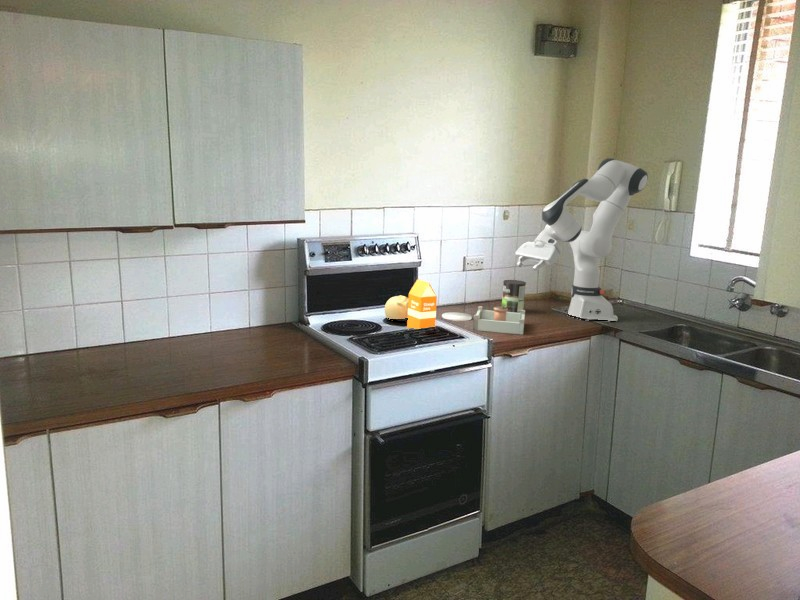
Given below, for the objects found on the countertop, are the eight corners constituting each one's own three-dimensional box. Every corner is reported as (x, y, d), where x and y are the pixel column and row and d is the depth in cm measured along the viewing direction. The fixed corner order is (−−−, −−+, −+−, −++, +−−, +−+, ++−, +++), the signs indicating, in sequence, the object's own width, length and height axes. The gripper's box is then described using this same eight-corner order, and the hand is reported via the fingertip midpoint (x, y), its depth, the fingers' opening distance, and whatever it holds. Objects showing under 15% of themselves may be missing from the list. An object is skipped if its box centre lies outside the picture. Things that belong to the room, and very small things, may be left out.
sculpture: (407, 324, 278) (409, 299, 276) (380, 321, 281) (381, 296, 279) (415, 319, 289) (417, 294, 286) (389, 316, 292) (390, 291, 290)
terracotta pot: (506, 326, 284) (508, 307, 282) (505, 329, 278) (507, 310, 277) (492, 324, 285) (494, 306, 284) (491, 327, 280) (493, 308, 278)
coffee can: (507, 314, 307) (509, 283, 305) (497, 309, 317) (499, 279, 314) (527, 313, 311) (530, 283, 308) (517, 309, 320) (519, 279, 317)
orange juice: (422, 327, 275) (425, 278, 271) (435, 332, 268) (438, 282, 264) (406, 328, 271) (409, 279, 267) (418, 333, 263) (421, 283, 260)
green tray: (524, 323, 290) (525, 310, 288) (522, 334, 270) (524, 320, 269) (477, 319, 293) (478, 306, 292) (473, 330, 274) (474, 315, 273)
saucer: (473, 316, 300) (473, 313, 300) (470, 322, 288) (470, 320, 287) (444, 313, 302) (444, 311, 302) (440, 319, 290) (440, 317, 290)
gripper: (523, 236, 294) (505, 259, 290) (559, 241, 278) (541, 266, 274) (529, 245, 297) (512, 268, 293) (566, 252, 281) (547, 276, 277)
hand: (526, 267), depth 283 cm, fingers open, 8 cm apart
